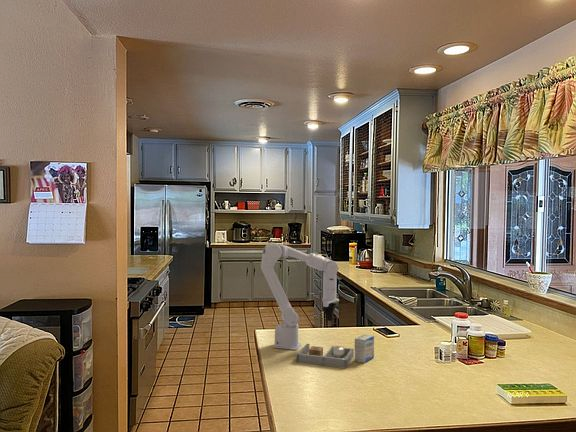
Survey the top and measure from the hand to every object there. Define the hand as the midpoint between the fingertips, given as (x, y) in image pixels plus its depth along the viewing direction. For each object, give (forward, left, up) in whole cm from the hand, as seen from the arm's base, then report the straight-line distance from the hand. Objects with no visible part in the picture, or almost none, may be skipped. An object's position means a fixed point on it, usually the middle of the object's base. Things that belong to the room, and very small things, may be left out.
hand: (329, 320), depth 192 cm
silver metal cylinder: (+8, -18, -10) cm, 22 cm away
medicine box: (+17, -13, -11) cm, 24 cm away
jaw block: (-1, -18, -11) cm, 21 cm away
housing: (+3, -18, -10) cm, 21 cm away
